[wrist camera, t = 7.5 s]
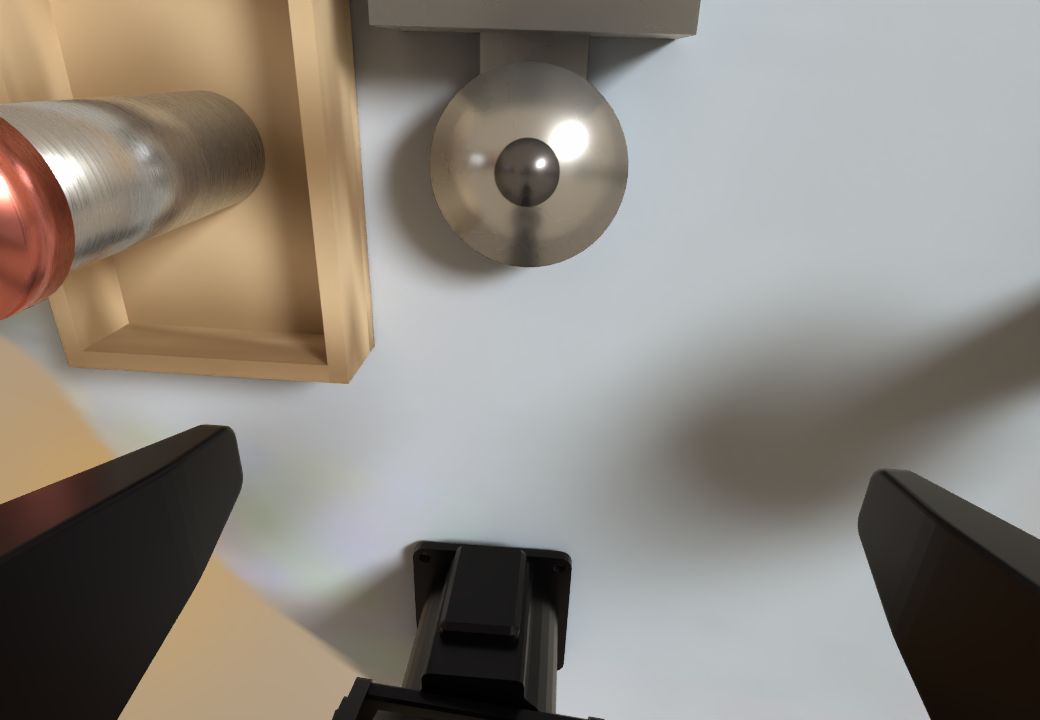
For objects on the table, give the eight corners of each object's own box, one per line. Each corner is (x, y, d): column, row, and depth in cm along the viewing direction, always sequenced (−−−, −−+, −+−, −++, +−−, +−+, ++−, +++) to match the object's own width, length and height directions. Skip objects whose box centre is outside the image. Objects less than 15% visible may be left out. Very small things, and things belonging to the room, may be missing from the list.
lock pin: (282, 217, 20) (53, 338, 11) (162, 211, 21) (-156, 326, 12) (265, 81, 19) (-20, 97, 10) (134, 77, 19) (-264, 88, 10)
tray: (374, 345, 23) (348, 383, 20) (127, 331, 23) (69, 366, 21) (342, -101, 17) (299, -131, 15) (17, -107, 18) (-84, -138, 15)
